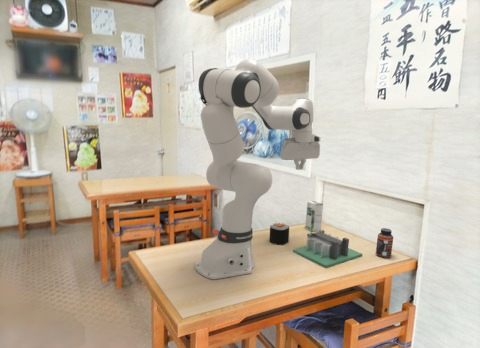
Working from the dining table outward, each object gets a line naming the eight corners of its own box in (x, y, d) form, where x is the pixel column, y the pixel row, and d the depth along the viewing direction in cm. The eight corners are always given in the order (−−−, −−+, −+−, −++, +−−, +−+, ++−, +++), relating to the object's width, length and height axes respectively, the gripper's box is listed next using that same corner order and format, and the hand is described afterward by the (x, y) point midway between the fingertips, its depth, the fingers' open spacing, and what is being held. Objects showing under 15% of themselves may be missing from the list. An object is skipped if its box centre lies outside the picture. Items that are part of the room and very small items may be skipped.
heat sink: (325, 259, 134) (326, 244, 133) (302, 248, 144) (303, 234, 143) (348, 252, 142) (349, 237, 141) (324, 242, 152) (326, 228, 151)
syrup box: (304, 228, 174) (306, 200, 171) (314, 227, 176) (316, 199, 174) (311, 231, 168) (313, 203, 166) (321, 230, 171) (323, 202, 168)
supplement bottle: (388, 259, 138) (391, 233, 136) (373, 255, 142) (376, 229, 140) (393, 255, 143) (396, 229, 141) (378, 251, 147) (381, 226, 145)
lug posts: (334, 259, 134) (335, 242, 133) (330, 257, 136) (331, 241, 134) (347, 255, 139) (349, 239, 137) (343, 253, 140) (345, 237, 139)
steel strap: (336, 245, 135) (336, 243, 135) (312, 235, 146) (312, 233, 146) (343, 244, 137) (343, 241, 137) (319, 233, 148) (319, 231, 148)
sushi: (291, 241, 155) (292, 224, 154) (281, 246, 149) (282, 228, 147) (276, 236, 160) (277, 220, 159) (266, 241, 154) (266, 224, 153)
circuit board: (325, 268, 129) (325, 265, 129) (292, 251, 143) (293, 249, 143) (362, 256, 141) (362, 253, 141) (328, 242, 156) (328, 239, 155)
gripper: (288, 138, 138) (286, 172, 141) (323, 137, 149) (320, 169, 152) (278, 137, 143) (276, 169, 146) (312, 136, 155) (310, 167, 157)
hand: (299, 169), depth 149 cm, fingers closed
